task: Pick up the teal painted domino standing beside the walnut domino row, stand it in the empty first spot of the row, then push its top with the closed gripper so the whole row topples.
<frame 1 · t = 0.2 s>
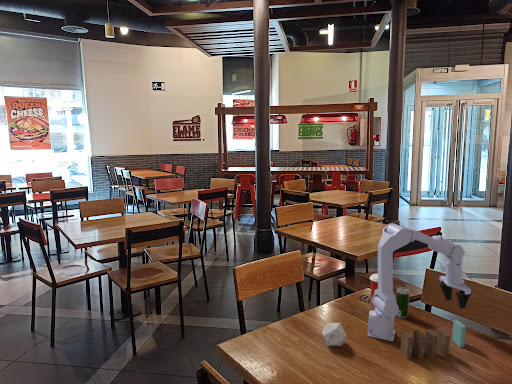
hand: (455, 303, 146), 10 cm above the table, tool pointing down, fingers open, 7 cm apart
die: (333, 344, 136), on the table
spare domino: (457, 343, 136), on the table
domino 4: (405, 354, 129), on the table
paper cup: (377, 305, 168), on the table
domino 2: (430, 353, 130), on the table
beer can: (401, 316, 158), on the table
domino 3: (417, 354, 129), on the table
domino 1: (442, 353, 130), on the table
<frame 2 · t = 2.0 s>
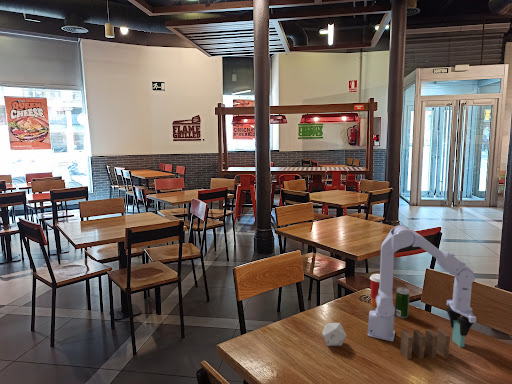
hand: (458, 331, 136), 5 cm above the table, tool pointing down, fingers closed on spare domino, 5 cm apart
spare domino: (457, 343, 136), on the table, touching gripper
everything else where it was.
when the fingers open (5 cm above the table, at t = 5.5 s): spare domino stays where it is, on the table.
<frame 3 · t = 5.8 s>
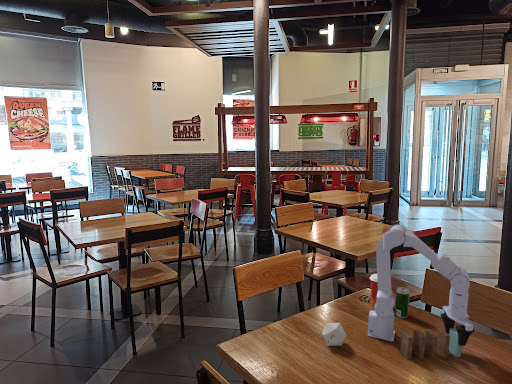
hand: (455, 339, 129), 5 cm above the table, tool pointing down, fingers open, 7 cm apart
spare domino: (454, 352, 130), on the table
everything else where it was.
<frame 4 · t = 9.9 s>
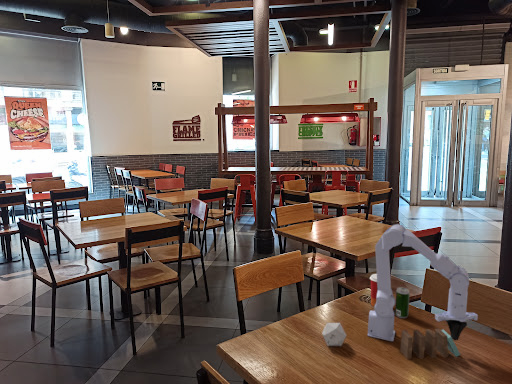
hand: (454, 338, 129), 5 cm above the table, tool pointing down, fingers closed
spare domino: (454, 351, 130), on the table, tilted 29°
domino 1: (442, 352, 130), on the table, tilted 8°
everything else where it was.
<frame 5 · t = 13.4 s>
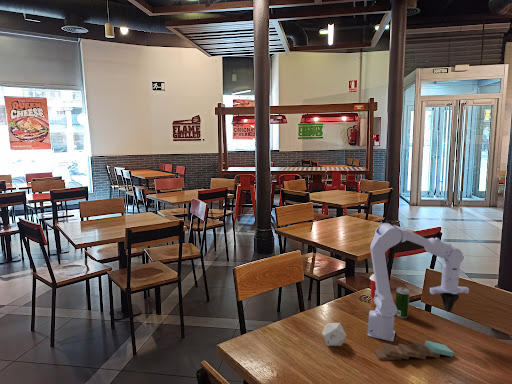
hand: (447, 310, 140), 10 cm above the table, tool pointing down, fingers closed
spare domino: (448, 350, 130), point 1 cm above the table, tilted 72°, touching domino 1
domino 4: (398, 354, 129), on the table, tilted 90°, touching domino 3
domino 2: (421, 353, 129), point 1 cm above the table, tilted 72°, touching domino 1, domino 3
domino 3: (404, 353, 128), point 1 cm above the table, tilted 72°, touching domino 2, domino 4
domino 1: (434, 352, 129), point 1 cm above the table, tilted 72°, touching domino 2, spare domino
everything else where it was.
at the end: domino 4 tilted 90°; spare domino tilted 72°; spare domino inside the target area (2.1 cm from its centre), point 0.8 cm above the table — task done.
